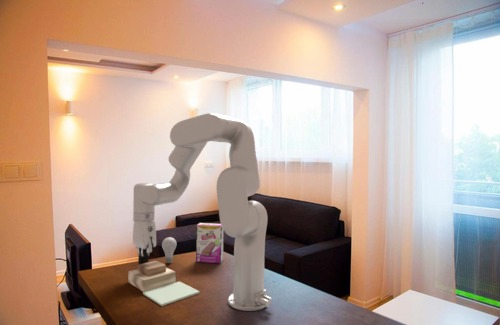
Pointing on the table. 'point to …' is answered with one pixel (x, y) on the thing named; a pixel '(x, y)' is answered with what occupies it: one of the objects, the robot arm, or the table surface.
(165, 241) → the lightbulb
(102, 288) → the table surface
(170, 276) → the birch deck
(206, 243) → the candy bar box
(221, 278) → the table surface
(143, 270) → the walnut block
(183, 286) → the sage mat
